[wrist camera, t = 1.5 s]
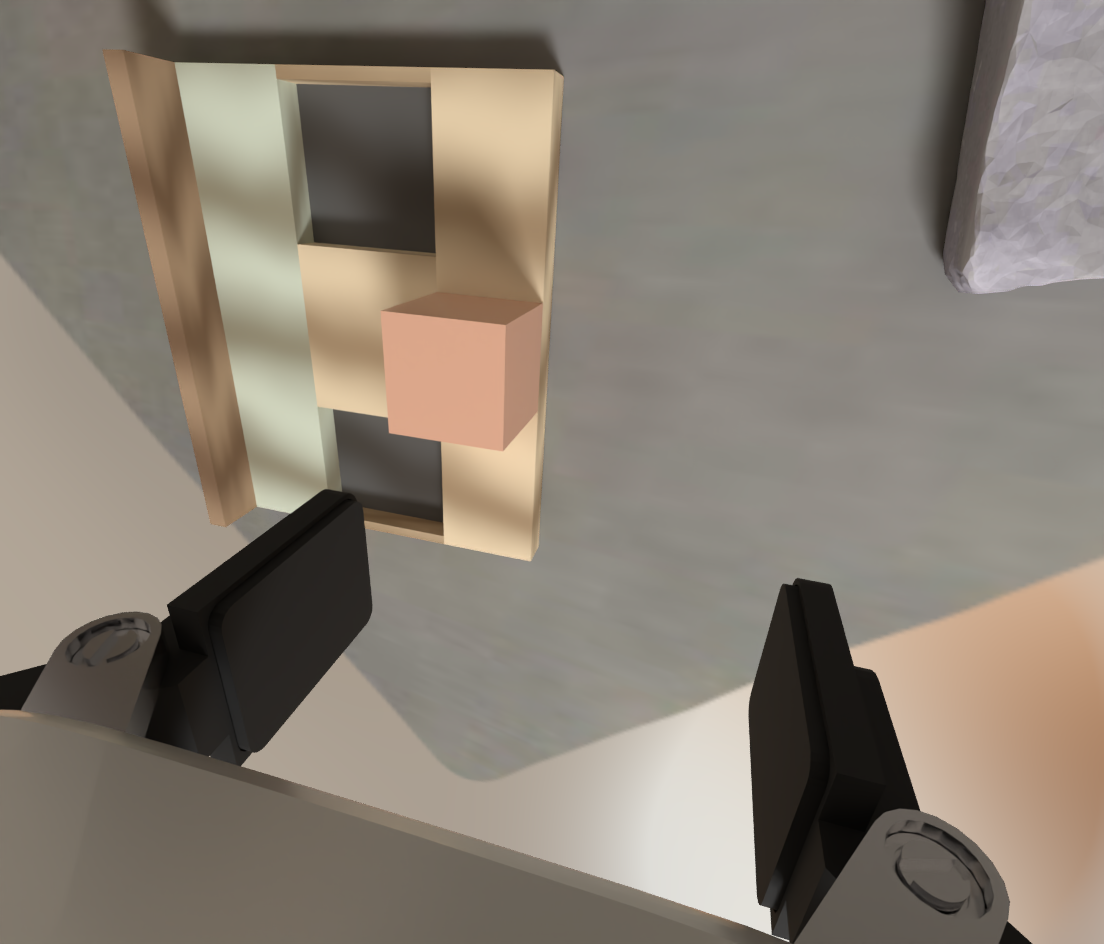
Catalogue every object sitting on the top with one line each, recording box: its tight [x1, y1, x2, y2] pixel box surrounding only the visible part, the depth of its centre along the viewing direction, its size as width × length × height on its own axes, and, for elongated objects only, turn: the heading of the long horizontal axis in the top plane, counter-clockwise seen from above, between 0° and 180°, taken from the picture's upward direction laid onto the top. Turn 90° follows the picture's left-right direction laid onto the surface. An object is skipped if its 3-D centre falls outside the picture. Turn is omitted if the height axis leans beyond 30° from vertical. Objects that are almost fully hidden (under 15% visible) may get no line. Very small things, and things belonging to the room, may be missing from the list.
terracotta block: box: [381, 292, 543, 451], centre depth 25 cm, size 5×5×5 cm
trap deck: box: [103, 50, 564, 561], centre depth 28 cm, size 22×18×4 cm
